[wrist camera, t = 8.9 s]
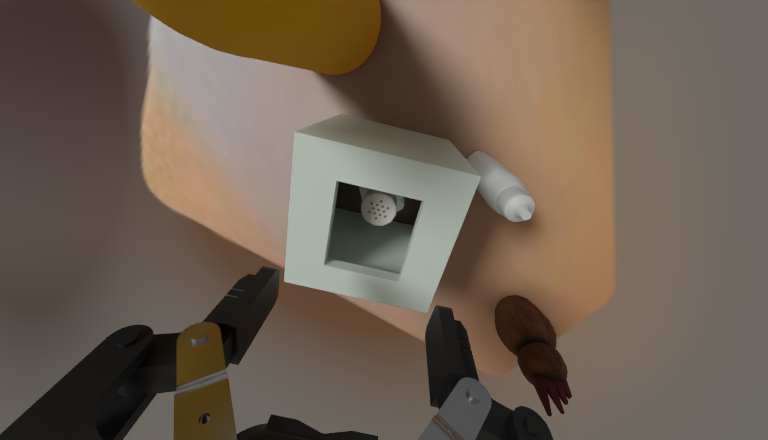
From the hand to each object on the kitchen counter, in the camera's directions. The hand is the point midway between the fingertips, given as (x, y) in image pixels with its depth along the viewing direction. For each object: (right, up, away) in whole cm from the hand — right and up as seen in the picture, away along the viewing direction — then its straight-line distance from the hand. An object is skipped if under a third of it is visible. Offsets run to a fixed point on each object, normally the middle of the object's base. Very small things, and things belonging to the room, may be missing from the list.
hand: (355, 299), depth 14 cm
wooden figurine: (+20, -8, +26) cm, 34 cm away
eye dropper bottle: (+13, +10, +17) cm, 24 cm away
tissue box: (+1, +9, +18) cm, 21 cm away
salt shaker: (+2, +9, +19) cm, 21 cm away
